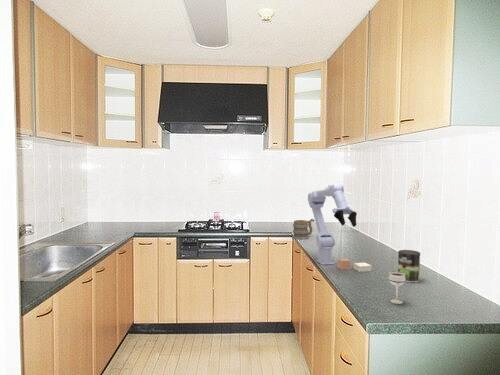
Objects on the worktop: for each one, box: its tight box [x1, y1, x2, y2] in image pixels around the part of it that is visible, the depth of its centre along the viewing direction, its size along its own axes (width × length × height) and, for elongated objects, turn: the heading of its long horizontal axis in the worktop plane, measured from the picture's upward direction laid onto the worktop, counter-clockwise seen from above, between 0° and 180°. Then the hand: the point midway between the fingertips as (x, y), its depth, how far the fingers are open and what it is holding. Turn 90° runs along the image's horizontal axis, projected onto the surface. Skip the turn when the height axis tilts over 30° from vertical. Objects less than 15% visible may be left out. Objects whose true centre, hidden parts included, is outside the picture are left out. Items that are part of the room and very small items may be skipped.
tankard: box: [291, 218, 316, 241], centre depth 304 cm, size 20×13×15 cm, turn 114°
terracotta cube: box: [337, 258, 351, 271], centre depth 211 cm, size 5×5×5 cm
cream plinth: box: [353, 262, 372, 273], centre depth 208 cm, size 7×7×3 cm
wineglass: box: [388, 270, 406, 305], centre depth 158 cm, size 7×7×12 cm
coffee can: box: [397, 249, 421, 284], centre depth 189 cm, size 10×10×14 cm
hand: (349, 225), depth 196 cm, fingers open, 7 cm apart
